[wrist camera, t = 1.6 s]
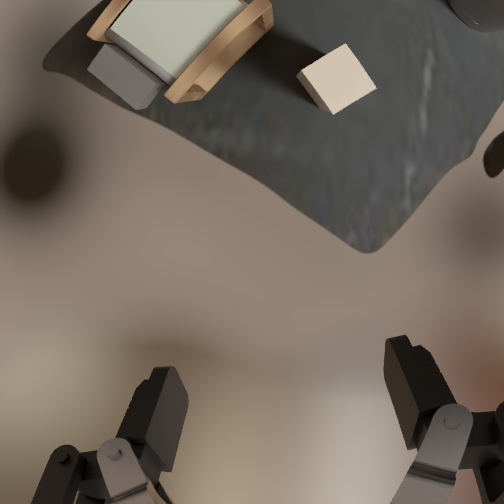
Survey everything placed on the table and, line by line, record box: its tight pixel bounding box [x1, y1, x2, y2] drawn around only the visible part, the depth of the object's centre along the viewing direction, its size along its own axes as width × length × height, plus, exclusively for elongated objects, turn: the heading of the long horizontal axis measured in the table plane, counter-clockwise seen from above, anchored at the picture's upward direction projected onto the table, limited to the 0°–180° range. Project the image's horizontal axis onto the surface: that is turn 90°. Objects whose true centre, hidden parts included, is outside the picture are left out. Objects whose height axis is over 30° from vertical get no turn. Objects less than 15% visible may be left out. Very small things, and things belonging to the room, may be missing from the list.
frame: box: [87, 0, 274, 103], centre depth 25 cm, size 12×12×10 cm
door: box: [87, 0, 246, 110], centre depth 23 cm, size 13×9×2 cm
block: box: [296, 44, 376, 114], centre depth 27 cm, size 4×4×10 cm
